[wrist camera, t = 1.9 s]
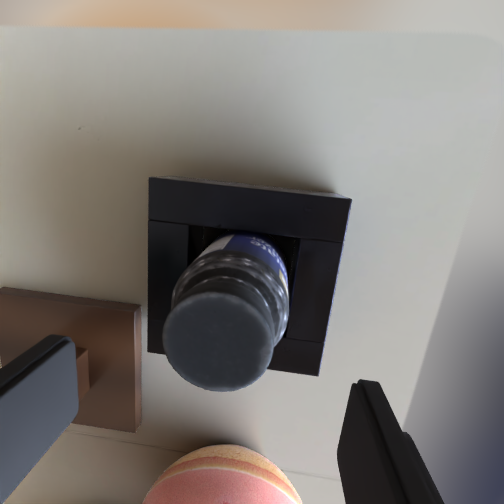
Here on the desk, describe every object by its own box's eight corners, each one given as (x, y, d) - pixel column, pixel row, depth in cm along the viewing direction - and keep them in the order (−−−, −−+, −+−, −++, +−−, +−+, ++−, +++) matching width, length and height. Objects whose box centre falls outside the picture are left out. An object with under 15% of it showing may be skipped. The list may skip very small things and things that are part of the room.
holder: (171, 175, 22) (148, 176, 18) (339, 193, 21) (352, 199, 17) (167, 324, 25) (146, 352, 21) (312, 344, 24) (318, 376, 20)
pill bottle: (302, 273, 23) (323, 365, 12) (239, 315, 24) (207, 430, 13) (253, 208, 22) (228, 243, 11) (190, 255, 23) (114, 328, 12)
